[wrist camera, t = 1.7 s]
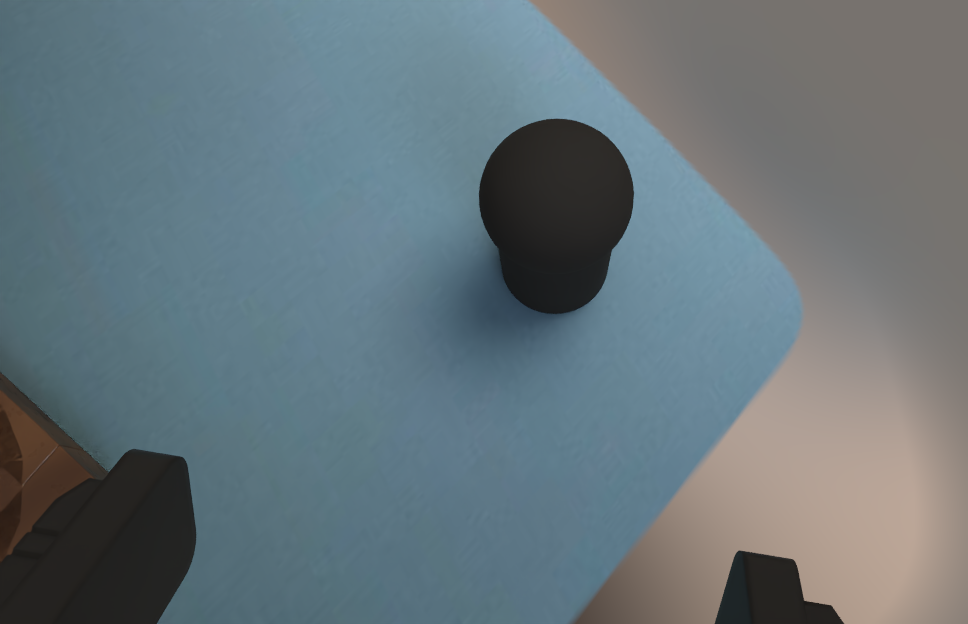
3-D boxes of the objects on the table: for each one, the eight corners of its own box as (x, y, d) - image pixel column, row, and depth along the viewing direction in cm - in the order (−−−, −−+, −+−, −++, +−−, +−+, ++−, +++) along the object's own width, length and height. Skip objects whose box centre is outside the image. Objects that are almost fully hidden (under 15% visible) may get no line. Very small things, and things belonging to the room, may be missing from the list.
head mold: (643, 252, 36) (675, 150, 27) (565, 348, 36) (571, 277, 26) (544, 181, 38) (542, 60, 28) (466, 273, 37) (439, 179, 28)
